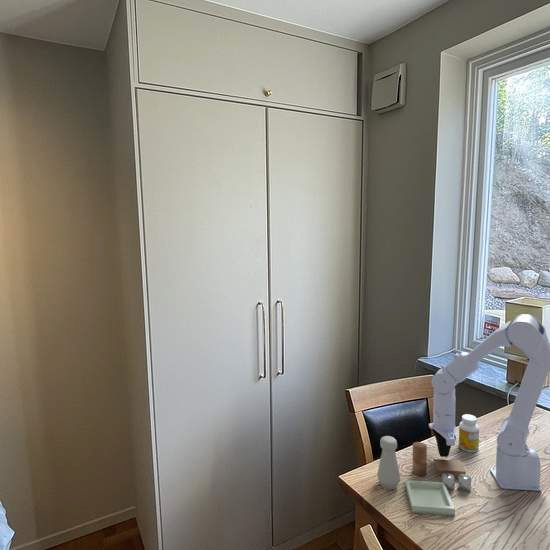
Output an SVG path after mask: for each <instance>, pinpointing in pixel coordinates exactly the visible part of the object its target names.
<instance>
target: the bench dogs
mask: <svg viewBox="0 0 550 550" xmlns="http://www.w3.org/2000/svg"><path fill="white" fill-rule="evenodd" d="M455 481H456V479H455V477H454V476H453V475H452V474H449V473H444V474H442V478H441V482H444V483H445V486H446V488H447V491H448V492H453V491H454V490H455ZM457 481H458V482H457V488H458V489H459V491H461V492H463V493H470V492H471V491H472V477H471V476H470V475H468V474H460V475H458V480H457Z"/></svg>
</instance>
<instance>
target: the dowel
mask: <svg viewBox="0 0 550 550" xmlns="http://www.w3.org/2000/svg"><path fill="white" fill-rule="evenodd" d="M427 448H428V446H427V445H426V444H425V443H423V442H421V441H415V442H413V443H412V474H413V475H414V476H416V477H419V478H424V477H426V476H427V470H428V469H427V465H428V459H427V458H428V456H427V455H428V449H427Z"/></svg>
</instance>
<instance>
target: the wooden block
mask: <svg viewBox="0 0 550 550" xmlns="http://www.w3.org/2000/svg"><path fill="white" fill-rule="evenodd" d="M433 468H434V470H435V473H436V476H437V478H441V477H442V474H444V473H449V474H452V475H453V476H454V477H455V478H456V479H458V475H460V474H466V471H467V470H466V469H465V467H464V465H463V463H462V461H461V460H457V459H453V460H452V459H442V458H441V459H439V458H438V459H437V458H433ZM466 475H467V474H466ZM456 479H455V480H456Z"/></svg>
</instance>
